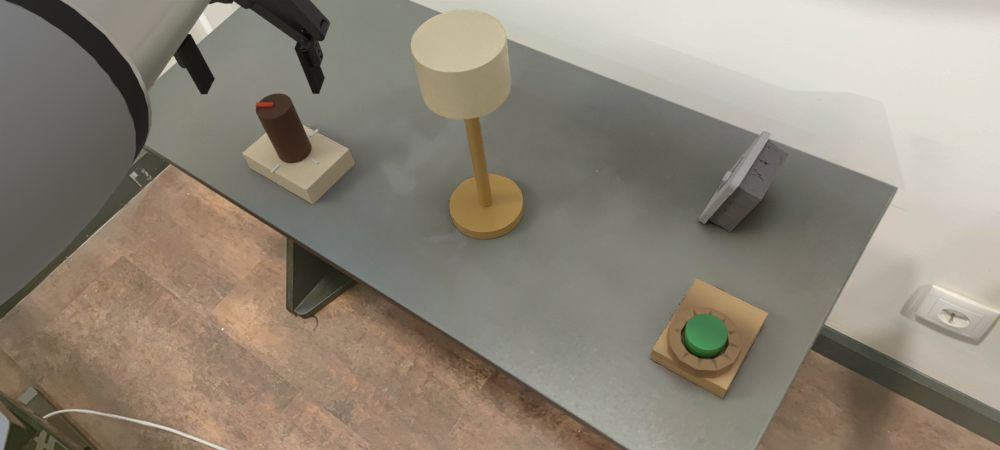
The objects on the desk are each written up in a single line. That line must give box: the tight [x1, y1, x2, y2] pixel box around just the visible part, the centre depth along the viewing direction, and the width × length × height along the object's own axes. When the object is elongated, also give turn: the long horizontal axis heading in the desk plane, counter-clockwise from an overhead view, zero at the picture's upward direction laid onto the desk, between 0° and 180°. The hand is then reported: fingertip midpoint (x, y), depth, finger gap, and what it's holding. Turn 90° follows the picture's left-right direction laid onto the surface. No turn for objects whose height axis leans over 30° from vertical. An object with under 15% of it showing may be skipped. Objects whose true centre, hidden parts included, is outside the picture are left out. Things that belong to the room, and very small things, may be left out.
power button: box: [684, 314, 728, 358], centre depth 68 cm, size 4×4×2 cm
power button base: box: [650, 278, 769, 399], centre depth 71 cm, size 10×8×4 cm
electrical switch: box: [698, 130, 789, 233], centre depth 79 cm, size 9×5×9 cm, turn 145°
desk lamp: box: [410, 9, 525, 240], centre depth 75 cm, size 9×9×26 cm
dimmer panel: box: [241, 124, 356, 205], centre depth 92 cm, size 9×12×3 cm
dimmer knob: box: [255, 92, 312, 163], centre depth 87 cm, size 4×4×8 cm
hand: (263, 86), depth 81 cm, fingers open, 13 cm apart
